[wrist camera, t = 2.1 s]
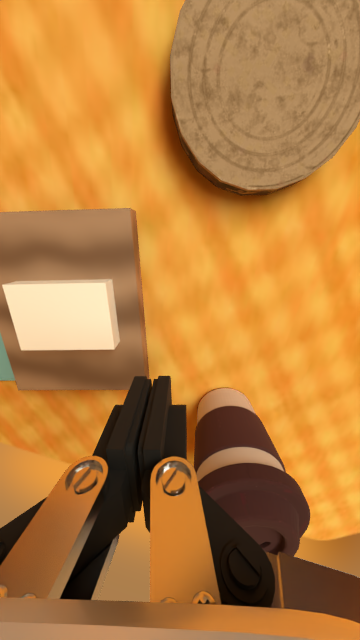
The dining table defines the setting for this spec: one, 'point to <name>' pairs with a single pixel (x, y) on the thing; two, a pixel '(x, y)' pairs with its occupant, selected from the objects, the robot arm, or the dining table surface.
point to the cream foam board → (63, 314)
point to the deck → (76, 264)
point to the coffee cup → (247, 472)
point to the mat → (5, 363)
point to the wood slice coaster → (265, 88)
